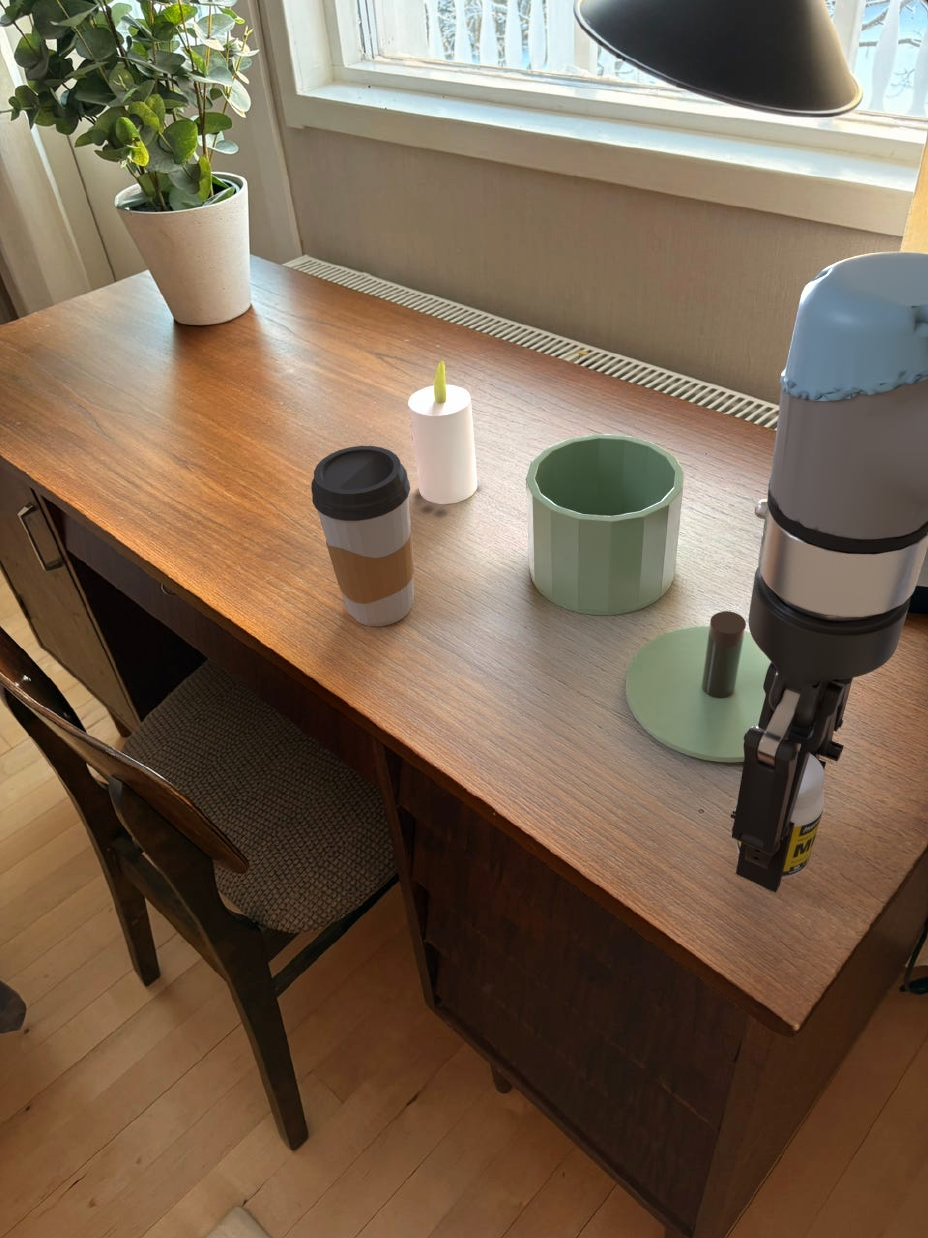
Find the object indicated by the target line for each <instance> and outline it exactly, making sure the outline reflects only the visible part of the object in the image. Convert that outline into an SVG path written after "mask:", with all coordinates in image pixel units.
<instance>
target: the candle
mask: <svg viewBox="0 0 928 1238" xmlns="http://www.w3.org/2000/svg"><path fill="white" fill-rule="evenodd" d="M407 404H408V411H409V420H410V428H411V439H412V444H413V451H414V452H413V453H414V459H415V467H416V475H417V483H418V490H419V494H420V496H421V498H423V499H424V500H425V501H428V502H430V503H432V504H440V505H451V504H456V503H460V502H464V501H466V500H468V499H469V498H470V497H472V496H473V495H474V494H475V492H476V491H477V490H478V489H477V488H478V476H477V464H476V463H477V462H476V452H475V450H476V448H475V438H474V437H475V436H474V424H473V423H474V422H473V411H472V410H473V409H472V398H471V394H470V393H469V392H468V390H467V389H465V388H463V387H460V386H457V385H453V384H447V380H446V364H445V361H444V359H442V360H440V361H439V363H437V367H436V369H435V372H434V378H433V385H430V386H426V387H422V388H420V389H418V390H416V391H415V392H414V393H412V394H411V395H410V397H409V398H408V403H407Z"/></svg>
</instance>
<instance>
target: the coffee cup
mask: <svg viewBox="0 0 928 1238" xmlns="http://www.w3.org/2000/svg"><path fill="white" fill-rule="evenodd" d="M310 484H311V487H310V488H311V494H312V495H311V497H312V498H311V500H312V501H311V502H312V504H313V506H314V508H315V509H316V511H317V514H318V518H319V520H320V524H321V527H322V531H323V534H324V537H325V545H326V548H327V552H328V555H329V557H330V561H331V564H332V565H331V566H332V568H333V571H334V574H335V578H336V582H337V584H338V586H339V590H340V591H341V595H342V598H343V601H344V605H345V608H346V610H347V612H348V614H349V615H350V616H351V617H352V618H353V619H354V620H355V621H356V622H358V623H359V624H362V625H364V626H368V627H384V626H389V625H393V624H395V623H398V622H399V621H401V620H403V619H404V618H405V617H406V616H407V615H408V614H409V612H410V611H411V609H412V606H414V601H415V585H414V572H415V570H414V554H413V553H414V552H413V536H412V534H413V533H412V525H411V517H410V499H409V495H410V492H411V484H410V480H409V477H408V471H407V468H405V467H404V465H403V464H402V463H401V459H400V458H399V457H398V455H397V454H395V453H394V452H393V451H392V450H390V449H387V448H384V447H382V446H376V445H357V446H349V447H345V448H342V449H339V450H336V451H333V452H331V453H329V454H328V455H326V456H325V457H324V458H322V459H321V460H320V461H319V462H318V463H317V464H316V466H315V467H314V470H313V478H312V481H311V483H310Z"/></svg>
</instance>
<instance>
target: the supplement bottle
mask: <svg viewBox="0 0 928 1238" xmlns="http://www.w3.org/2000/svg"><path fill="white" fill-rule="evenodd" d="M825 780H826V772H825V769H823V767H822V765H821V763H820V762H819V761H818V760H817V759H816V758H815V757H814V756H813V755H812V754H810V756H809V759H808V762H807V766H806V769H805V773H804V776H803V779H802V783H801V786H800V790H799V793H798V796H797V800H796V803H795V807H794V810H793V813H792V817H791V820H790V822H793V823H794V828H793V832H792V836H791V840H790V845H789V849H788V853H787V857H786V862H785V866H784V870H783V874H782V879H781V880H787V879H792V878H793V877H796V876H798V875H799V874H801V873H802V872H803V871H804V870H805V868H806V867H807V866H808V864H809V861H810V858H811V855H812V850H813V848H814V843H815V841H816V840H815V839H816V837H817V834H818V829H819V825H820V822H821V819H822V816H823V813H824V808H825V794H824V786H825ZM740 846H741V842H740V841H738V840H736V850H737V853H738V855H739V852H740Z"/></svg>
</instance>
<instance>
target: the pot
mask: <svg viewBox="0 0 928 1238" xmlns="http://www.w3.org/2000/svg"><path fill="white" fill-rule="evenodd" d="M684 481H685V470H684V468H683V467H682V466H681V464H680V463H679V461H678V459H677V458H676V456H675V455H674V454H673V453H671V452H669V451H668V450H666V449H665V448H663V447H661V446H659V444H656V443H655V442H652V441H649V440H645V439H642V438H638V437H634V436H631V435H623V434H605V433H595V434H589V435H588V434H587V435H583V436H577V437H570V438H568V439H565V440H563V441H561V442H558V443H556V444H553V445H550V446H548V447H547V448H545V449H543V451H542V452H541V453H539V454H538V455H537V456H536V457H535V458H534V459H533V460H531V462H530V463H529V467H528V470H527V473H526V477H525V497H526V498H525V500H526V527H527V529H526V530H527V531H526V532H527V554H528V555H527V557H528V559H527V562H528V569H529V574H530V577H531V581H532V583H533V585H534V587H535V588H536V590H537V591H538V592H539V593H540V594H541V595H542V596H543V597H544V598H546V599H547V600H548V601H550V602H551V603H553V604H555V605H556V606H558V607H561V608H563V609H565V610H567V611H571V612H574V613H579V614H584V615H591V616H617V615H624V614H629V613H633V612H635V611H639V610H642V609H644V608H646V607H649V606H650V605H652V604H653V603H655V602H657V601H658V600H660V599H661V598H662V597H663V596H664V595H665V594H666V593H667V592H668V590H669V589H670V587H671V586H672V584H673V581H674V579H675V572H676V563H677V554H678V553H677V552H678V544H679V534H680V533H679V532H680V522H681V512H682V502H683V494H684V493H683V492H684V484H685V483H684Z"/></svg>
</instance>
